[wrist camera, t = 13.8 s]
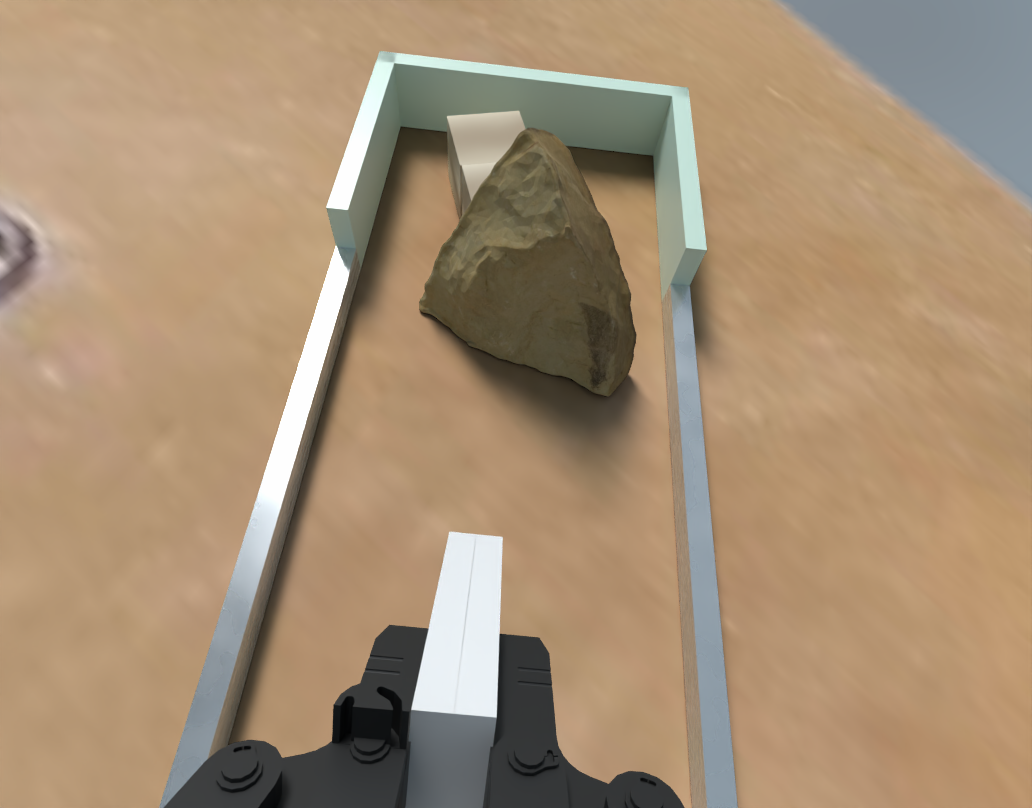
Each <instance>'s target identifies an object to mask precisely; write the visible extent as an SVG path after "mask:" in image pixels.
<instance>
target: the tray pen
mask: <svg viewBox="0 0 1032 808" xmlns="http://www.w3.org/2000/svg"><path fill="white" fill-rule="evenodd" d="M509 111H519V112H520V115H521V118H522V120H523V123H524V126H525V129H527V128H536V129H542V130H545V131H548V132H550V133H552V134H554V135H556V136H557V137H558V138H559V139H560V140H561V141H562V143H563V144H564V145H565V146H573V147H582V148H591V149H599V150H608V151H617V152H625V153H634V154H642V155H651V156H653V162H654V179H655V195H656V212H657V229H658V246H659V262H660V279H661V296H662V301H663V299H664V297H665V294H666V292H667V290H668V287H669V285H670V283H671V284H680V285H689V286H690V284H691V282H692V280H693V278H694V276H695V274H696V272H697V269H698V267H699V265H700V263H701V261H702V259H703V257H704V255H705V253H706V251H707V247H706V238H705V230H704V221H703V212H702V204H701V195H700V187H699V178H698V169H697V161H696V152H695V143H694V135H693V126H692V117H691V109H690V100H689V91H688V88H686V87H678V86H669V85H661V84H653V83H644V82H636V81H627V80H619V79H611V78H602V77H594V76H585V75H577V74H569V73H560V72H552V71H543V70H535V69H527V68H518V67H510V66H501V65H493V64H485V63H476V62H468V61H459V60H451V59H443V58H434V57H426V56H417V55H409V54H401V53H392V52H384V51H380V52H379V55H378V58H377V61H376V64H375V67H374V70H373V73H372V76H371V79H370V82H369V84H368V87H367V90H366V93H365V96H364V99H363V102H362V105H361V108H360V111H359V114H358V117H357V119H356V122H355V125H354V128H353V131H352V134H351V137H350V140H349V143H348V146H347V149H346V152H345V154H344V157H343V160H342V163H341V166H340V169H339V172H338V175H337V178H336V181H335V184H334V187H333V189H332V192H331V195H330V198H329V201H328V204H327V207H326V208H327V212H328V216H329V220H330V224H331V228H332V232H333V236H334V239H335V243H336V247H345V248H354V249H356V250H357V255H358V259H359V264H360V269H361V267H362V263H363V259H364V256H365V252H366V249H367V245H368V242H369V238H370V234H371V231H372V227H373V224H374V220H375V217H376V213H377V209H378V206H379V202H380V199H381V195H382V192H383V188H384V184H385V181H386V177H387V174H388V170H389V167H390V163H391V159H392V156H393V152H394V149H395V145H396V141H397V138H398V134H399V131H400V127H410V128H418V129H427V130H435V131H444V132H447V116H454V115H468V114H482V113H495V112H509Z"/></svg>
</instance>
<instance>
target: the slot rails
mask: <svg viewBox="0 0 1032 808" xmlns="http://www.w3.org/2000/svg"><path fill="white" fill-rule="evenodd" d="M360 270H361V269H360V264H359V259H358V255H357V250H356V249H354V248H345V247H336V249H335V252H334V255H333V258H332V262H331V265H330V268H329V271H328V274H327V277H326V281H325V284H324V287H323V290H322V293H321V297H320V300H319V303H318V306H317V309H316V312H315V316H314V319H313V322H312V325H311V328H310V331H309V335H308V338H307V341H306V344H305V347H304V350H303V354H302V357H301V360H300V363H299V366H298V369H297V373H296V376H295V379H294V382H293V385H292V388H291V392H290V395H289V398H288V401H287V404H286V407H285V411H284V414H283V417H282V420H281V423H280V426H279V430H278V433H277V436H276V439H275V442H274V445H273V449H272V452H271V455H270V458H269V461H268V464H267V468H266V471H265V474H264V477H263V480H262V483H261V487H260V490H259V493H258V496H257V499H256V502H255V506H254V509H253V512H252V515H251V518H250V521H249V525H248V528H247V531H246V534H245V537H244V540H243V544H242V547H241V550H240V553H239V556H238V559H237V563H236V566H235V569H234V572H233V575H232V578H231V582H230V585H229V588H228V591H227V594H226V598H225V601H224V604H223V607H222V610H221V613H220V617H219V620H218V623H217V626H216V629H215V632H214V636H213V639H212V642H211V645H210V648H209V651H208V655H207V658H206V661H205V664H204V667H203V670H202V674H201V677H200V680H199V683H198V686H197V689H196V693H195V696H194V699H193V702H192V705H191V708H190V712H189V715H188V718H187V721H186V724H185V727H184V731H183V734H182V737H181V740H180V743H179V746H178V750H177V753H176V756H175V759H174V762H173V765H172V769H171V772H170V775H169V778H168V781H167V784H166V788H165V791H164V794H163V797H162V800H161V803H160V807H159V808H164V806H165V805H166V804H167V803H168V802H169V801H170V800H171V799H172V798H173V796H174V795H175V794H176V793H177V792H178V791H179V790H180V789H181V788H182V786H183V785H184V784H185V783H186V782H187V781H188V780H189V779H190V778H191V776H192V775H193V774H194V773H195V772H196V771H197V770H198V769H199V768H200V766H201V765H202V764H203V763H204V762H205V761H206V760H207V759H208V758H210V757H211V756H212V755H213V754H214V753H216V752H217V751H218V750H220V749H222V748H224V747H226V746H228V742H229V738H230V735H231V731H232V728H233V724H234V721H235V717H236V713H237V710H238V706H239V703H240V699H241V696H242V692H243V688H244V685H245V681H246V678H247V674H248V671H249V667H250V663H251V660H252V656H253V653H254V649H255V646H256V642H257V638H258V635H259V631H260V628H261V624H262V620H263V617H264V613H265V610H266V606H267V603H268V599H269V595H270V592H271V588H272V585H273V581H274V578H275V574H276V570H277V567H278V563H279V560H280V556H281V553H282V549H283V545H284V542H285V538H286V535H287V531H288V528H289V524H290V520H291V517H292V513H293V510H294V506H295V503H296V499H297V495H298V492H299V488H300V485H301V481H302V477H303V474H304V470H305V467H306V463H307V460H308V456H309V452H310V449H311V445H312V442H313V438H314V435H315V431H316V427H317V424H318V420H319V417H320V413H321V410H322V406H323V402H324V399H325V395H326V392H327V388H328V385H329V381H330V377H331V374H332V370H333V367H334V363H335V359H336V356H337V352H338V349H339V345H340V342H341V338H342V334H343V331H344V327H345V324H346V320H347V317H348V313H349V309H350V306H351V302H352V299H353V295H354V292H355V288H356V284H357V281H358V277H359V274H360ZM662 313H663V330H664V346H665V363H666V380H667V397H668V413H669V430H670V447H671V464H672V480H673V497H674V514H675V530H676V547H677V564H678V581H679V597H680V614H681V631H682V648H683V664H684V681H685V698H686V714H687V731H688V748H689V765H690V781H691V798H692V808H738V807H737V796H736V785H735V774H734V763H733V752H732V742H731V731H730V720H729V709H728V698H727V687H726V676H725V665H724V654H723V643H722V633H721V622H720V611H719V600H718V589H717V578H716V567H715V556H714V545H713V535H712V524H711V513H710V502H709V491H708V480H707V469H706V458H705V447H704V437H703V426H702V415H701V404H700V393H699V382H698V371H697V360H696V349H695V339H694V328H693V317H692V306H691V295H690V286H689V285H680V284H671V283H670V285H669V287H668V290H667V292H666V294H665V297H664V299H663V301H662Z"/></svg>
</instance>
